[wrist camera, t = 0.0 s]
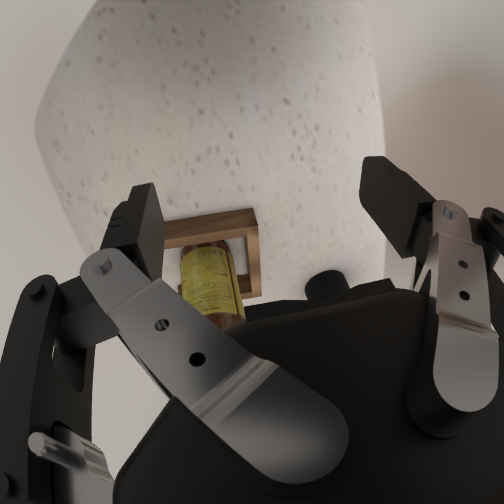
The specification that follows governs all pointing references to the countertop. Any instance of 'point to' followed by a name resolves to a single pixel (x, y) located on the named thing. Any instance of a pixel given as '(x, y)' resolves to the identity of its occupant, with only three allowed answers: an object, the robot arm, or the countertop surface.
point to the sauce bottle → (211, 283)
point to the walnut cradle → (222, 229)
